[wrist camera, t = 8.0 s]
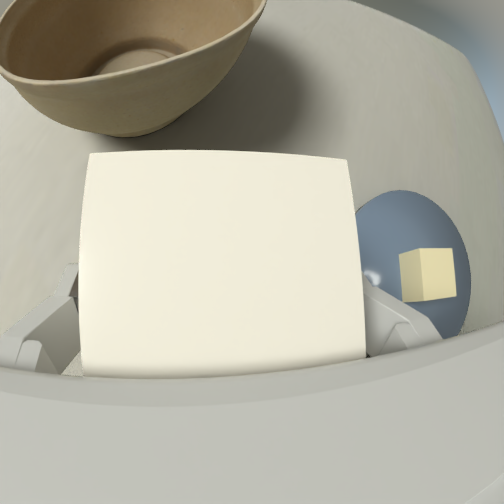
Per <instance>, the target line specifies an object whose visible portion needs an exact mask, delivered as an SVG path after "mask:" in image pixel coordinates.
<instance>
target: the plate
mask: <svg viewBox="0 0 504 504" xmlns="http://www.w3.org/2000/svg"><path fill="white" fill-rule="evenodd" d="M355 218H356V225H357V234H358V242H359V252H360V262H361V271H362V272H363V273H364V275H365V276H366V278H367V279H368V281H369V282H370V284H371V285H372V287H378V288H380V289H381V290H383V291H385V292H386V293H388V294H390V295H391V296H393V297H395V298H396V299H398V300H400V301H402V287H401V274H400V263H399V254H402V253H405V252H408V251H412V250H415V249H419V248H452V252H453V261H454V270H455V282H456V296H455V297H448V298H441V299H435V300H428V301H417V302H403V303H405V304H407V305H408V306H410V307H412V308H413V309H415V310H417V311H418V312H420V313H422V314H423V315H425V316H426V317H428V318H429V319H430V321H431V322H432V324H433V325H434V327H435V328H436V330H437V331H438V333H439V334H440V336H441V337H442V338H443V340H445V339H448V338H452V337H455V336H457V335H458V333H459V332H460V330H461V327H462V325H463V323H464V320H465V317H466V314H467V311H468V306H469V301H470V293H471V273H470V265H469V260H468V255H467V252H466V249H465V245H464V243H463V240H462V238H461V236H460V234H459V232H458V230H457V228H456V226H455V225H454V223H453V222H452V220H451V219H450V218H449V216H448V215H447V214H446V213H445V212H444V211H443V210H442V209H441V208H440V207H439V206H438V205H437V204H436V203H434V202H433V201H432V200H430V199H428V198H427V197H425V196H423V195H420V194H418V193H415V192H411V191H403V190H397V191H390V192H387V193H383V194H381V195H379V196H377V197H375V198H373V199H372V200H370V201H369V202H367V203H366V204H365V205H363V206H362V207H361V208H360V209H359V210H358V211H357V212H356V213H355ZM368 355H369V354H368ZM369 356H370V355H369Z"/></svg>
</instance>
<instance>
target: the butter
mask: <svg viewBox="0 0 504 504" xmlns="http://www.w3.org/2000/svg"><path fill="white" fill-rule="evenodd" d="M399 263H400V274H401V287H402V302H417V301H428V300H435V299H441V298H448V297H455V296H456V282H455V270H454V261H453V252H452V248H419V249H415V250H412V251H408V252H405V253H402V254H399Z"/></svg>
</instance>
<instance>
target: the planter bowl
mask: <svg viewBox="0 0 504 504" xmlns="http://www.w3.org/2000/svg"><path fill="white" fill-rule="evenodd" d="M266 2H267V0H14V1H13V2H12V3H11V5H9V7H8V8H7V9H6V11H5V12H4V13H3V15H2V17H1V18H0V74H1V75H2V76H3V77H4V78H5V79H6V80H7V81H8V82H9V83H11V84H12V85H13V86H14V87H15V88H16V89H17V91H18V92H19V93H20V94H21V95H22V97H23V98H24V99H25V100H26V101H28V102H29V103H30V104H31V105H32V106H33V107H34V108H36V109H37V110H38V111H40V112H41V113H42V114H44V115H46V116H47V117H49V118H50V119H52V120H54V121H56V122H58V123H61V124H63V125H66V126H68V127H71V128H75V129H78V130H82V131H87V132H92V133H101V134H106V135H110V136H115V137H134V136H141V135H145V134H149V133H152V132H154V131H157V130H159V129H162V128H163V127H165V126H167V125H169V124H170V123H172V122H173V121H175V120H176V119H177V118H178V117H179V116H181V114H182V113H184V112H185V111H187V110H188V109H190V108H191V107H193V106H194V105H195V104H197V103H198V102H199V101H201V100H202V99H203V98H204V97H205V96H206V95H208V94H209V93H210V92H211V91H212V90H213V89H214V88H215V87H216V86H217V85H218V84H219V83H220V82H221V81H222V79H223V78H224V77H225V76H226V75H227V73H228V72H229V71H230V70H231V68H232V67H233V65H234V64H235V62H236V61H237V59H238V58H239V56H240V54H241V52H242V51H243V49H244V47H245V45H246V43H247V41H248V39H249V36H250V34H251V32H252V29H253V27H254V25H255V24H256V23H257V21H258V19H259V18H260V16H261V14H262V12H263V10H264V8H265V5H266Z"/></svg>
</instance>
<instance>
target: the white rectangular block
mask: <svg viewBox="0 0 504 504" xmlns="http://www.w3.org/2000/svg"><path fill="white" fill-rule="evenodd" d="M78 297H79V329H80V345H81V357H82V368H83V377H99V378H121V379H187V378H211V377H228V376H241V375H253V374H263V373H273V372H282V371H290V370H298V369H305V368H312V367H319V366H325V365H332V364H338V363H343V362H349V361H355V360H360V359H365V358H366V341H365V317H364V299H363V285H362V273H361V262H360V252H359V242H358V234H357V225H356V218H355V210H354V203H353V196H352V189H351V183H350V177H349V171H348V165H347V160H344V159H336V158H327V157H317V156H307V155H295V154H282V153H267V152H249V151H223V150H147V151H122V152H105V153H91V154H90V155H89V161H88V168H87V174H86V182H85V189H84V198H83V207H82V218H81V231H80V247H79V279H78Z"/></svg>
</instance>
